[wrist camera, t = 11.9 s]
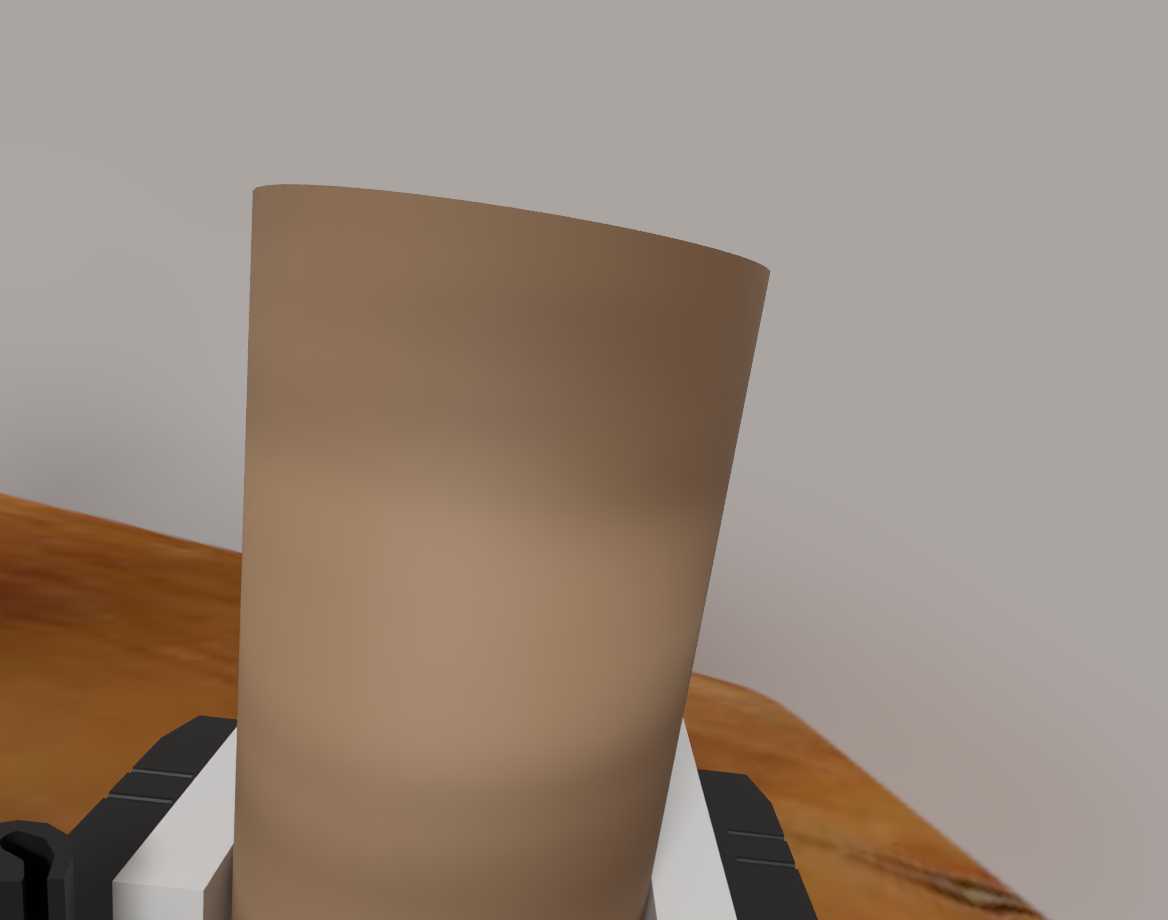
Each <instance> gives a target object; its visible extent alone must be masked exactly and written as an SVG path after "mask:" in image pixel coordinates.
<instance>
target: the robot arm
mask: <svg viewBox="0 0 1168 920" xmlns="http://www.w3.org/2000/svg"><path fill="white" fill-rule="evenodd" d="M236 745H237V720H236V719H227V718H218V717H209V716H198V717H196V718H195V719H193V720H191V721H189V722H188V723H186V724H184V725H182V726H181V727H179V728H177V729H175V730H174V731H172V732H170V733H169V734H167V735H165V736H163V737H162V738H160V740H159V741H158V742H157V743H156V744H155V745H154V746H153V747H152V748H151V749H150V750H149V751H148V752H147V753H146V754H145V755H144V756H143V757H142V758H141V759H140V760H139V761H138V762H137V763H136V765H135V766H134V767H133V770H132V772H131V773H127V774H126V775H125V776H124V777H123V778H122V779H121V780H120V781H119V782H118V783H117V784H116V785H115V786H114V787H113V789H112V790H111V791H110V792H109V795H108V797H107V799H106V798H103V799H102V800H101V801H100V802H99V803H98V804H97V805H96V806H95V807H94V808H93V809H92V810H91V811H90V812H89V814H88V815H87V816H86V817H85V818H84V819H83V820H82V821H81V822H80V823H79V824H78V825H77V826H76V827H75V828H74V829H73V830H72V831H71V832H70V833H69V834H68V835H67V834H65V833H63V832H62V831H60V830H58V829H56V828H55V827H53V826H51V825H50V824H48V823H40V822H30V821H20V820H16V821H9V822H2V823H0V920H231V913H232V880H233V846H234V812H235V779H236ZM643 920H818V919H817V916H816V914H815V911H814V909H813V906H812V904H811V901H810V899H809V896H808V894H807V891H806V889H805V886H804V884H803V881H802V879H801V876H800V874H799V871H798V869H795V861H794V859H793V856H792V854H791V851H790V849H789V846H788V844H787V841H784V834H783V831H782V829H781V826H780V824H779V821H778V819H777V816H776V814H775V811H774V809H773V806H772V804H771V802H770V801H769V800H768V799H767V798H766V797H765V795H764V794H763V793H762V792H761V791H760V790H759V789H758V788H757V786H756V785H755V784H754V783H753V782H752V781H751V780H750V778H749V777H748V776H747V775H744V774H735V773H726V772H717V771H709V770H700V769H697V768H696V765H695V761H694V757H693V753H692V750H691V746H690V742H689V738H688V735H687V731H686V727H685V723H684V720H683V718H682V724H681V729H680V734H679V739H678V744H677V749H676V754H675V759H674V764H673V769H672V774H671V780H670V785H669V790H668V795H667V800H666V805H665V810H664V815H663V820H662V825H661V831H660V836H659V841H658V846H657V851H656V856H655V861H654V866H653V871H652V876H651V881H650V887H649V892H648V897H647V902H646V907H645V912H644V917H643Z"/></svg>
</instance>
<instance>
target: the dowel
mask: <svg viewBox="0 0 1168 920" xmlns="http://www.w3.org/2000/svg"><path fill="white" fill-rule="evenodd" d="M252 207H253V208H252V241H251V275H250V309H249V311H250V312H249V341H248V375H247V408H246V443H245V476H244V477H245V478H244V510H243V511H244V512H243V544H242V546H243V547H242V577H241V610H240V644H239V678H238V711H237V745H236V779H235V812H234V846H233V880H232V913H231V920H643V917H644V912H645V907H646V902H647V897H648V892H649V887H650V881H651V876H652V871H653V866H654V861H655V856H656V851H657V846H658V841H659V836H660V831H661V825H662V820H663V815H664V810H665V805H666V800H667V795H668V790H669V785H670V780H671V774H672V769H673V764H674V759H675V754H676V749H677V744H678V739H679V734H680V729H681V724H682V718H683V713H684V708H685V703H686V698H687V693H688V688H689V683H690V678H691V673H692V667H693V662H694V657H695V652H696V647H697V642H698V637H699V632H700V627H701V621H702V617H703V611H704V606H705V601H706V596H707V591H708V586H709V581H710V576H711V570H712V566H713V560H714V555H715V550H716V545H717V540H718V535H719V530H720V525H721V520H722V515H723V509H724V504H725V499H726V494H727V489H728V484H729V479H730V474H731V468H732V463H733V458H734V453H735V448H736V443H737V438H738V433H739V428H740V423H741V418H742V413H743V407H744V403H745V397H746V392H747V387H748V381H749V377H750V372H751V367H752V362H753V357H754V352H755V346H756V341H757V336H758V331H759V326H760V321H761V316H762V311H763V306H764V301H765V296H766V290H767V285H768V280H769V275H770V271H769V270H768V269H767V268H766V267H764V266H763V265H761V264H759V263H757V262H754V261H752V260H749V259H746V258H743V257H741V256H738V255H734V254H731V253H727V252H724V251H721V250H718V249H714V248H710V247H706V246H702V245H698V244H694V243H691V242H687V241H682V240H678V239H674V238H669V237H665V236H661V235H656V234H652V233H647V232H642V231H637V230H632V229H628V228H623V227H618V226H613V225H608V224H602V223H597V222H592V221H586V220H581V219H576V218H570V217H565V216H559V215H553V214H547V213H541V212H535V211H529V210H523V209H517V208H511V207H504V206H498V205H497V206H496V205H491V204H484V203H477V202H470V201H464V200H455V199H449V198H441V197H433V196H426V195H418V194H409V193H400V192H391V191H382V190H372V189H361V188H350V187H349V188H348V187H338V186H337V187H336V186H321V185H319V186H318V185H292V184H291V185H289V184H288V185H287V184H281V185H266V186H261V187H257V188H255V189H254V190H253V206H252Z"/></svg>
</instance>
